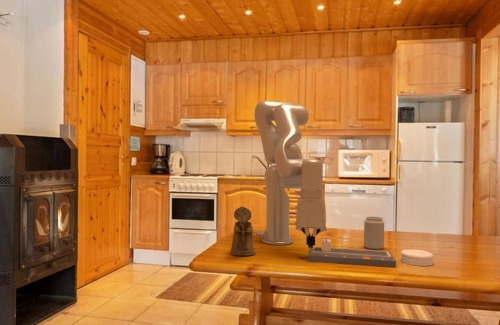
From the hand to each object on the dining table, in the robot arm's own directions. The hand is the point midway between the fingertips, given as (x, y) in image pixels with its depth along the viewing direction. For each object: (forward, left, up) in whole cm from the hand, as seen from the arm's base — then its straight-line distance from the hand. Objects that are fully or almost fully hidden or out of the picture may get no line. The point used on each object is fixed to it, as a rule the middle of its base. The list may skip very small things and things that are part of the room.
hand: (310, 247), depth 133 cm
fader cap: (+5, 0, -1) cm, 5 cm away
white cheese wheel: (+35, +3, -4) cm, 36 cm away
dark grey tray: (+13, 0, -4) cm, 14 cm away
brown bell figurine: (-24, -4, -4) cm, 24 cm away
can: (+23, +21, -4) cm, 32 cm away
